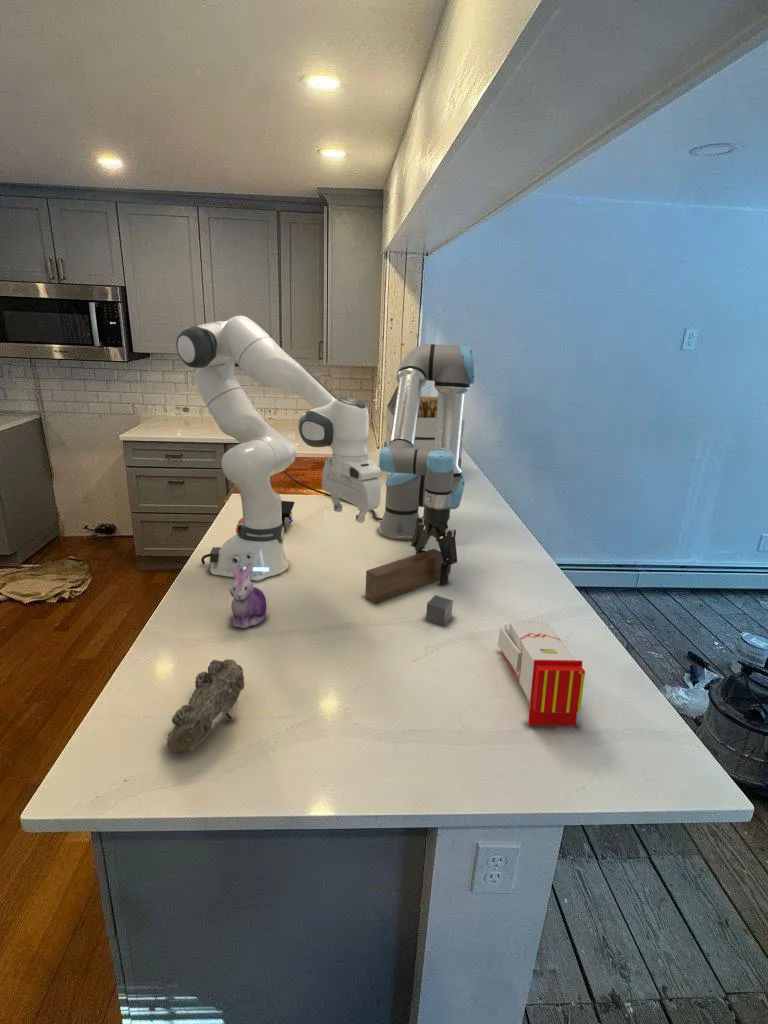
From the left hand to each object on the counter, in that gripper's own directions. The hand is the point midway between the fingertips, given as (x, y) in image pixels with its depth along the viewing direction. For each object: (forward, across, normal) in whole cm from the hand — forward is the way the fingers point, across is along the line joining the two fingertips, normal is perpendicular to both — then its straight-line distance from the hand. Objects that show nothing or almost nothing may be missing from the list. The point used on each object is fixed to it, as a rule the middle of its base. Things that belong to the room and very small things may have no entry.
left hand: (348, 516), depth 145 cm
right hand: (+24, +4, +28) cm, 37 cm away
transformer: (+24, -80, +104) cm, 134 cm away
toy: (+24, +53, +10) cm, 59 cm away
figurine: (+24, -6, -26) cm, 36 cm away
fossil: (+24, +22, -48) cm, 58 cm away
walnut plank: (+24, +4, +18) cm, 30 cm away
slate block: (+24, +22, +13) cm, 35 cm away
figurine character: (+24, -56, +14) cm, 63 cm away
